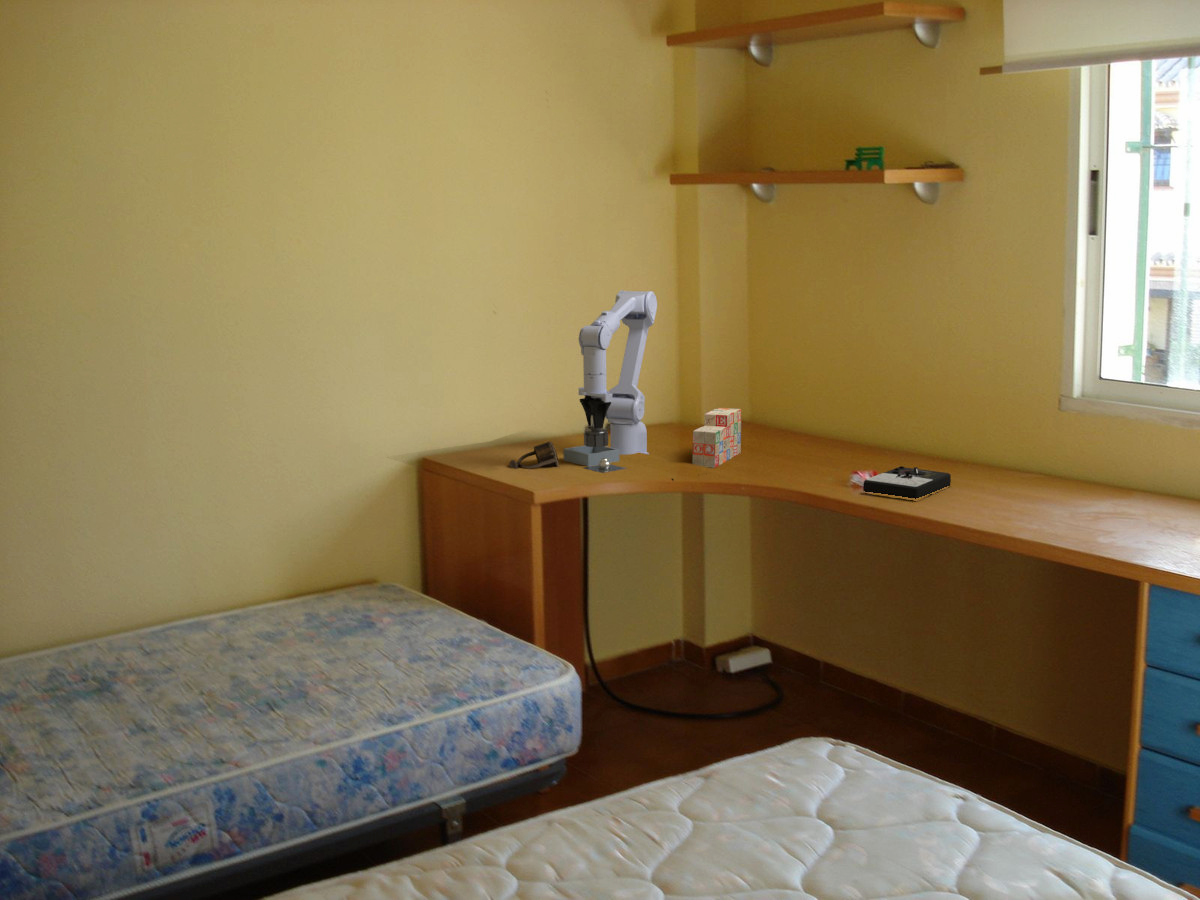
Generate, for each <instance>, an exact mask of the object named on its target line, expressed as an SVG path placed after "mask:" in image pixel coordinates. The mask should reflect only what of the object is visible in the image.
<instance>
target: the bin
mask: <svg viewBox="0 0 1200 900" xmlns="http://www.w3.org/2000/svg"><path fill="white" fill-rule="evenodd" d="M602 458H607V459H608V461H610V464H611V463H617V462H620V454H619V449H615V448H611V446H610V447H609V446H605V447H587V446H585V445H584V444H583V445H580V446H573V447H565V448H563V461H565V462H569V463H573V464H576V465H581V466H584V467H590V466H595V465H599V461H601V459H602Z"/></svg>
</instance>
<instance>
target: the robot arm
mask: <svg viewBox="0 0 1200 900" xmlns="http://www.w3.org/2000/svg"><path fill="white" fill-rule="evenodd" d="M657 310H658V301H657V297H656V294H655V293H654V291H652V290H649V291H648V290H647V291H645V290H644V291H641V290H640V291H638V290H637V291H635V290H632V291H631V290H625V289H622V290H619V291H618V293H616V294H615V303H614V304H613V305H612V307H611V309H610V310H603V311H602V312H601V314H599V316H598V317H597V318H596V319H594V321H593V322H592V323H591V324H590V325H584V326H583V327H582V328H580V331H579V334H578V343H579V346H580V353H581V356H583V357H582V358H583V360H582V361H583V365H582V366H583V386H582V387H578V396H583V397H582V398H580V399H579V402H580V404H581V406H582V409H583V411H584V414H585V418H586V422H587V425H588V427H591V415H593V424H594V428H601V429H604V424H605V419H606V420H607V423H610V425H609V426H610V434H609V435H610V447H611V448H615V449H619V455H622V456H623V455H634V454H637V453H640V454H645V455H649V454H650V453H649V452H648V451H647V450H648V448H647V447H648V446H647V444H648V438H647V435H648V432H647V431H648V430H647V427H646V425H645V424H644V422H643V421H642V419H643V418H644V417H645V416H644V415H645V410H646V409H645V402H646V397H645V394H644V393H643V392H642V391H641V390H640V389H639V388H638V384H639V380H640V375H641V369H642V364H643V359H644V354H645V348H646V344H647V339H648V335H649V329H650V327H651V326H653V325H654V324H655V323H654V322H655V319H656V315H657ZM621 322H622V324H624V325H625V326H627V327H628V329H629V330H628V334H627V339H626V344H625V345H626V346H625V350H624V354H623V358H622V364H621V368H620V369H621V370H620V373H619V380H618V384H616V385H615V386H613V387H611V388H610V389H609V390H608V389H607V349H608V348H609V346H610V344H611V340H612V338H613V335H614V334H615V333H616V332H617V331H618V329H619V328H620V326H621Z"/></svg>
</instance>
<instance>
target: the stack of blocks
mask: <svg viewBox="0 0 1200 900" xmlns="http://www.w3.org/2000/svg"><path fill="white" fill-rule="evenodd" d="M692 432H693V433H692V465H694V466H695V465H696V466H700V467H704V468H711V469H712V468H713V469H715V468H717V467H719V466H721V465H722V464H724V463H726V462H727V460H728V461H729V459H730V460H731V459H732V457H733V458H735V457H737V456H738V454H739V453H740V454H741V453H742V451H741V450H742V448H741V446H742V443H741V441H742V437H741V436H742V408H728V407H718V408H714V409H712V410H710V411H708V412H706V413H704V426H701V427H698V428H696V429H695V430H693V431H692ZM740 454H739V455H740ZM736 455H737V456H736ZM734 456H735V457H734Z"/></svg>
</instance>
